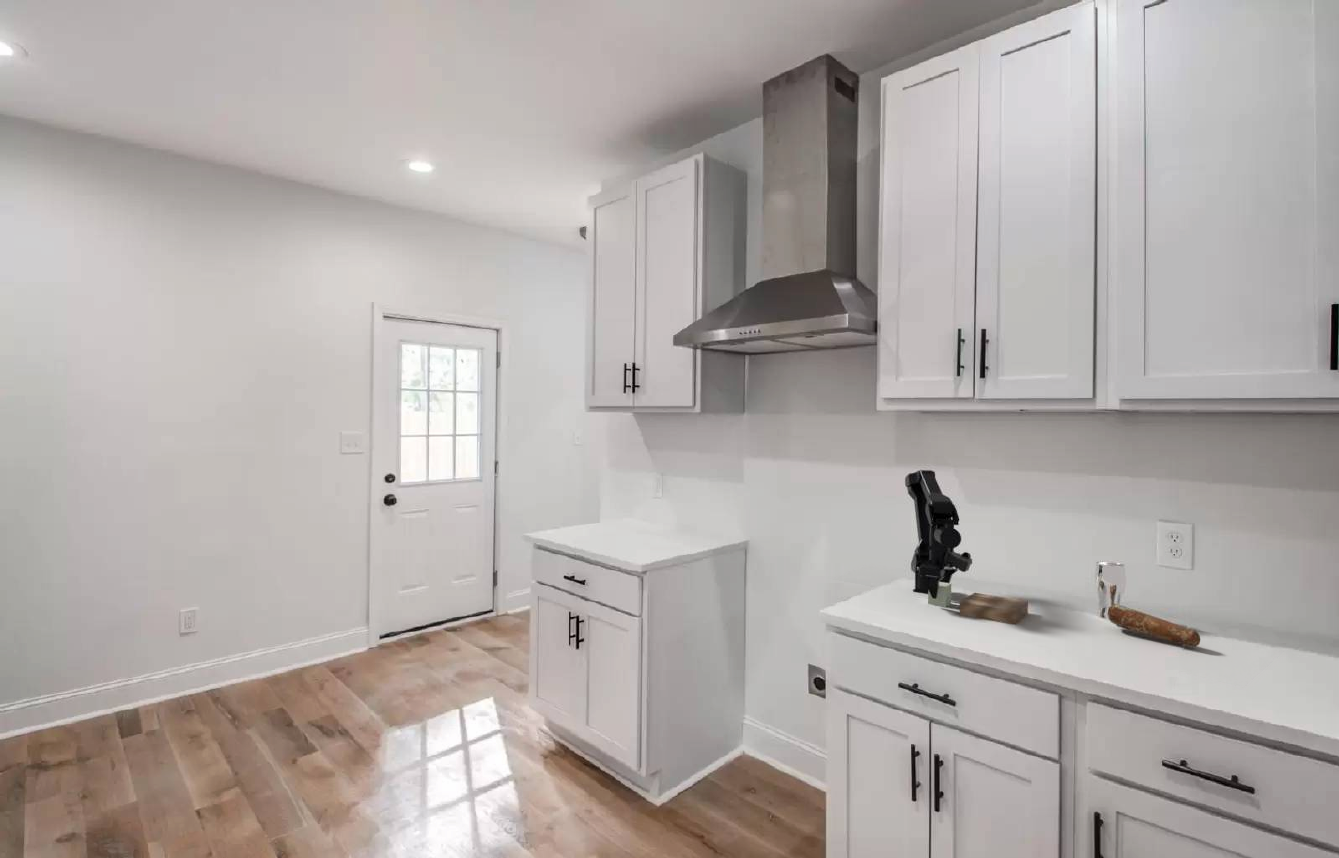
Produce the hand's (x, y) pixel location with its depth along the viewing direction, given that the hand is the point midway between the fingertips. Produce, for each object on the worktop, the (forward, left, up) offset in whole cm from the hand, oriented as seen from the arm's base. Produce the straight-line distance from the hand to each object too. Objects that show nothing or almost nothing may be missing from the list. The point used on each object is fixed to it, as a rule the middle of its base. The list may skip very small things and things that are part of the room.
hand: (939, 595), depth 192 cm
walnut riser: (+15, -1, -3) cm, 15 cm away
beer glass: (+40, +16, -3) cm, 43 cm away
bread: (+48, +2, -4) cm, 48 cm away
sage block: (0, 0, -2) cm, 3 cm away
